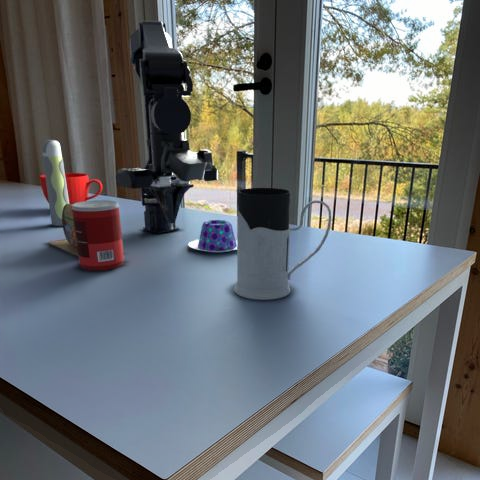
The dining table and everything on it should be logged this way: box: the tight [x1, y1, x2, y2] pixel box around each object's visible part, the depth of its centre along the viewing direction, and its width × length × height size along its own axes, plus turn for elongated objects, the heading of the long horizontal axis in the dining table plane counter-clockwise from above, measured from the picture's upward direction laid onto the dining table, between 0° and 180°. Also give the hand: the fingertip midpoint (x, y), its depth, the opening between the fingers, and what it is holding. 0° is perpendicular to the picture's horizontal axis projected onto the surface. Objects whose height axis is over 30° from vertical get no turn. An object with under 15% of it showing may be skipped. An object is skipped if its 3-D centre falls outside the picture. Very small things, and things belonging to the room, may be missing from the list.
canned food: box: [72, 199, 125, 271], centre depth 84 cm, size 8×8×11 cm
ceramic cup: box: [39, 172, 103, 204], centre depth 135 cm, size 13×17×10 cm
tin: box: [62, 204, 77, 247], centre depth 96 cm, size 15×3×8 cm, turn 40°
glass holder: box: [233, 187, 332, 301], centre depth 71 cm, size 9×14×15 cm, turn 88°
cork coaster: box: [47, 238, 79, 258], centre depth 97 cm, size 7×18×1 cm, turn 43°
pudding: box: [187, 219, 237, 253], centre depth 97 cm, size 12×12×5 cm
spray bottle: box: [41, 139, 69, 227], centre depth 115 cm, size 5×5×20 cm
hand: (171, 222), depth 89 cm, fingers closed
